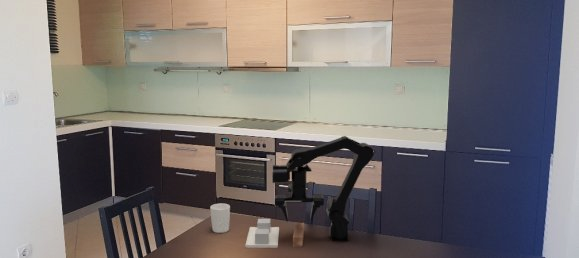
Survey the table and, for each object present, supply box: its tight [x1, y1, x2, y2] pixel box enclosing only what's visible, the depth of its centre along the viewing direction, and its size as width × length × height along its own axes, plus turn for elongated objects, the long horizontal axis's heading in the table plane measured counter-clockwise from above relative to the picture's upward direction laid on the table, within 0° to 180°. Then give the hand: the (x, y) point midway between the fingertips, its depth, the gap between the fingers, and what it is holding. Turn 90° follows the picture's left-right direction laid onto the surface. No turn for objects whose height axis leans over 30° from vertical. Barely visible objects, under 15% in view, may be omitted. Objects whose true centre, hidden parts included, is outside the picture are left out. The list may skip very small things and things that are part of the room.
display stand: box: [245, 218, 280, 249], centre depth 183 cm, size 12×18×5 cm, turn 179°
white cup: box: [209, 203, 231, 234], centre depth 191 cm, size 8×8×10 cm
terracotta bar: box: [292, 222, 305, 248], centre depth 182 cm, size 4×15×4 cm, turn 175°
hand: (299, 221), depth 181 cm, fingers open, 9 cm apart
